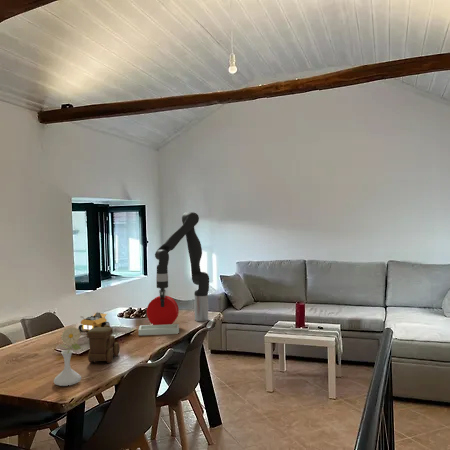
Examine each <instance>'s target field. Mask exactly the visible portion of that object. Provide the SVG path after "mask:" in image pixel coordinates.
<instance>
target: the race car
mask: <svg viewBox="0 0 450 450" xmlns="http://www.w3.org/2000/svg"><path fill="white" fill-rule="evenodd" d="M107 315H108V313H100V312H98V311H97V312H95V313H94V314H93V315H90V316H87V317H86V318H85V316H84V315H80V318H81V319H82V320H81V321H80V322H79V323H80V324H79V325H78V329H79V330H80V331H79V332H85V331H87V332H88V331H89V330H90V329H92V328H96V327H104V326H105V325H110V322H109V321H108V320H107V319H106V318H105V317H106V316H107Z"/></svg>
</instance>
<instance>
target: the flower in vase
mask: <svg viewBox="0 0 450 450" xmlns="http://www.w3.org/2000/svg"><path fill="white" fill-rule="evenodd" d="M81 336H82V334H81V331H80V330H79V329H78V328H77V327H74V326H70V327H67V328H66V329H64V331H63V332H62V334H61V337H60V338H61V341H62V343H63V344H65V345H67V346H65V345H63V344H62V343H60V345H61V346H62V347H63V348H66V349H67V350H66V349H65V350H62V351H61V352H60V353H61V355H62V356H63V357H62V358H63V361H64V368H63V369H62V371H61V372H59V374H57V375H56V376H55V378H54V379H53V383H54V385H56V386H60V387H68V385H69V386H73V385H75V384H77V383H80V381H81V380H82V376H81V374H79V373H78V372H77V371H76V370H74V369H72V368H71V357H72V355H73V352H74V350H75V351H77V350H81V349H82V348H81V345H79V344H78V342H79V339H80V338H81ZM68 346H70V347H68ZM71 348H72V349H73V350H71Z"/></svg>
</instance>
